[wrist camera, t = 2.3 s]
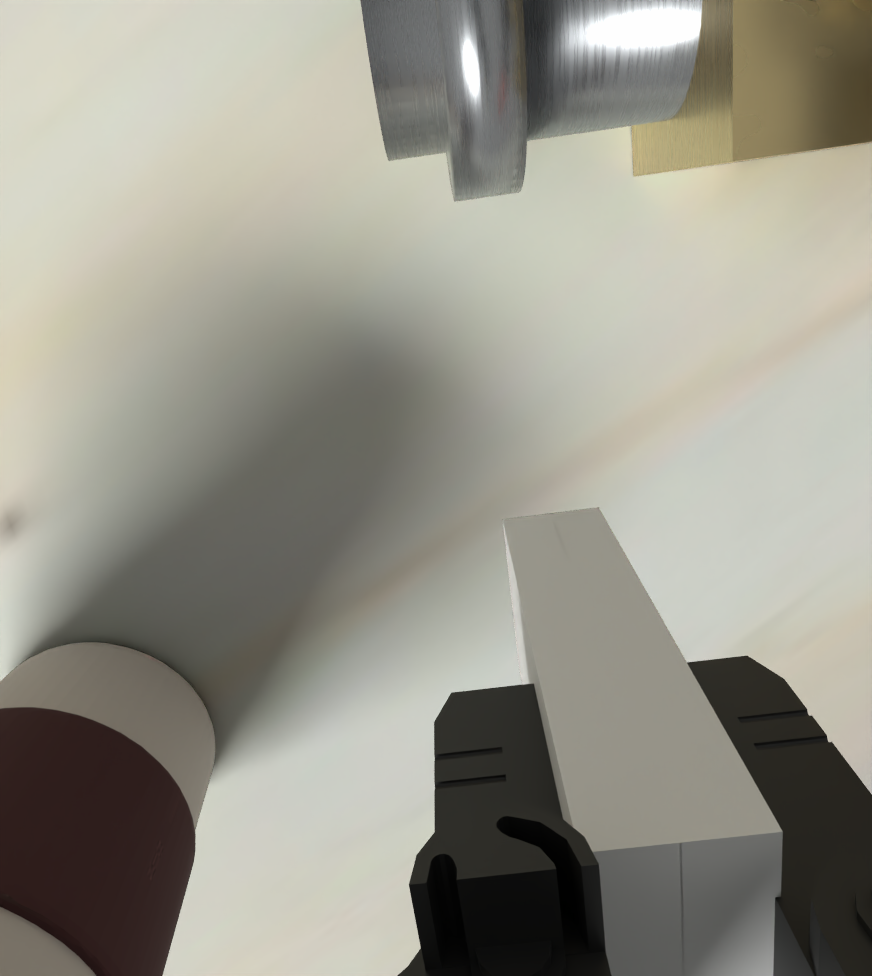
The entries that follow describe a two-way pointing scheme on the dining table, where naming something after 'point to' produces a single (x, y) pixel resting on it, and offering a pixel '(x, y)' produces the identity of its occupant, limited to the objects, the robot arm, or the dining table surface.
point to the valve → (617, 80)
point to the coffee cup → (97, 810)
